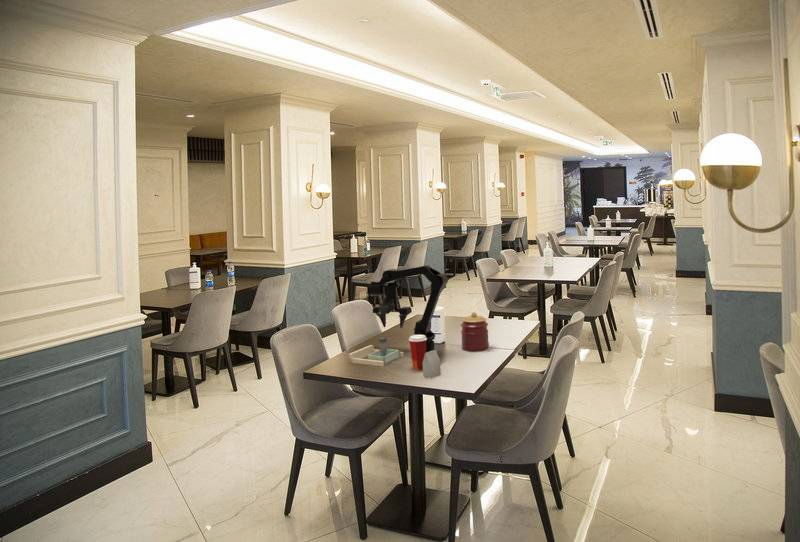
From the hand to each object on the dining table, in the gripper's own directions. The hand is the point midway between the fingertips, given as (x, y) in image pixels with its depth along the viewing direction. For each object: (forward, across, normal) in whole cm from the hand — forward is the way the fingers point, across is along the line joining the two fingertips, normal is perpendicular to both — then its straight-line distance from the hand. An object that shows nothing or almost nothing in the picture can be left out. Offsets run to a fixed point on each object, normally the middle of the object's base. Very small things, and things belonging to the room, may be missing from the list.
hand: (392, 327), depth 273 cm
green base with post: (+11, +4, -17) cm, 21 cm away
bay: (+12, 0, -17) cm, 21 cm away
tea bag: (+12, +34, -29) cm, 46 cm away
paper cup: (+12, +24, -21) cm, 34 cm away
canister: (+12, +35, +17) cm, 41 cm away
